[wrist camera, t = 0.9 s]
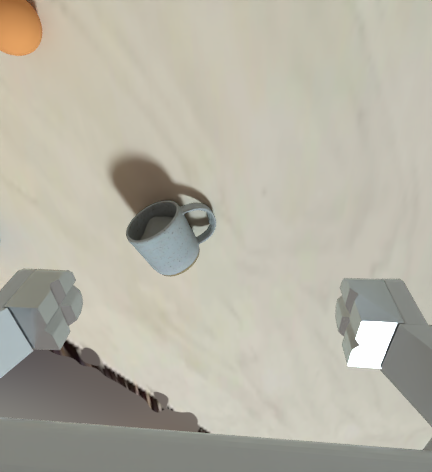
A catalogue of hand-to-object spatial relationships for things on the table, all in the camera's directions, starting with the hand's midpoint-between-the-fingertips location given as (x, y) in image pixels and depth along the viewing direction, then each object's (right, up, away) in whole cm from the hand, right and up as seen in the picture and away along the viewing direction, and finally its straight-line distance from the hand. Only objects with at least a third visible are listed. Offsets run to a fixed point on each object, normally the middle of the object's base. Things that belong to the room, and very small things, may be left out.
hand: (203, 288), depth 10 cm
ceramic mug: (-5, +4, +36) cm, 37 cm away
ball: (-18, +21, +19) cm, 34 cm away
